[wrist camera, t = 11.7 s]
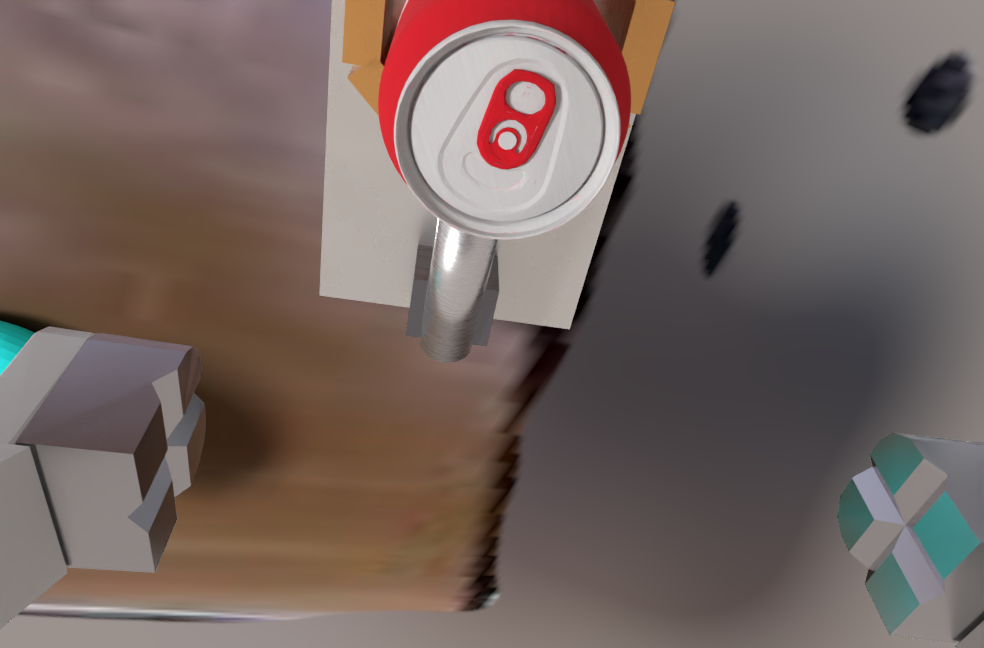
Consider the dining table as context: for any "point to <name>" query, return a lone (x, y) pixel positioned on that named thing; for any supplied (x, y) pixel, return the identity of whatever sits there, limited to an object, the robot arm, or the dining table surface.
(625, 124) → the beverage can
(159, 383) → the robot arm
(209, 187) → the dining table surface
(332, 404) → the dining table surface
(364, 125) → the coupling base
